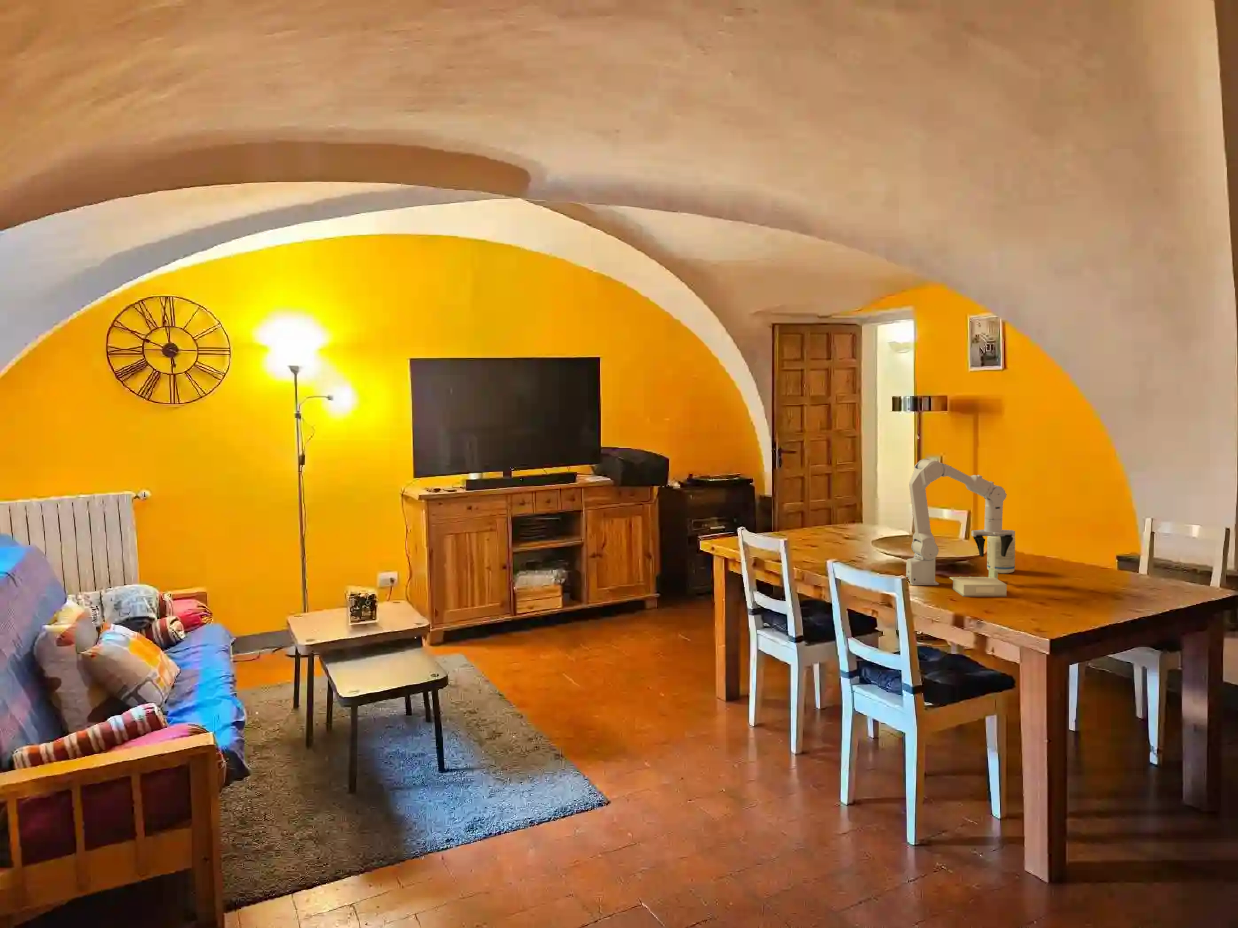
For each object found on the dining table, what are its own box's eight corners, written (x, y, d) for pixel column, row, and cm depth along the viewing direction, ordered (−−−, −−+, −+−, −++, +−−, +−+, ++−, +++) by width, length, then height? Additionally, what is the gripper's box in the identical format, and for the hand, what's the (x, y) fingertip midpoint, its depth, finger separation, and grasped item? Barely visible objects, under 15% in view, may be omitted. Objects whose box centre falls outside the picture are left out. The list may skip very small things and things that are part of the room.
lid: (959, 586, 291) (960, 573, 291) (949, 579, 302) (949, 566, 301) (1001, 586, 291) (1001, 572, 290) (989, 579, 301) (990, 566, 300)
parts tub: (963, 596, 276) (963, 584, 275) (952, 588, 286) (952, 577, 285) (1006, 596, 275) (1007, 584, 274) (994, 588, 285) (994, 577, 285)
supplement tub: (1019, 571, 310) (1021, 532, 308) (1005, 575, 305) (1006, 535, 303) (995, 567, 318) (996, 529, 316) (981, 570, 313) (982, 532, 311)
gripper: (977, 520, 290) (975, 558, 291) (1019, 520, 289) (1017, 558, 290) (969, 517, 297) (968, 554, 298) (1010, 517, 296) (1009, 554, 298)
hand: (992, 556), depth 295 cm, fingers open, 7 cm apart
